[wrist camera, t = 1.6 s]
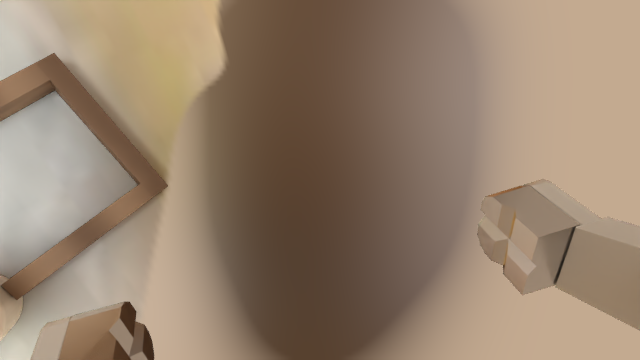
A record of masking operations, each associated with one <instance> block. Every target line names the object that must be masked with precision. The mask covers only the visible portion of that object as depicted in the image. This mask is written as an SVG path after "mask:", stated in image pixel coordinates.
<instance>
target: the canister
mask: <svg viewBox="0 0 640 360" xmlns="http://www.w3.org/2000/svg"><path fill="white" fill-rule="evenodd" d="M7 280H9V278H7V277H5V276H2V275H0V341H1V340H2V339H3V338H4V337H5V336H6V334H7V333H8V332H9V331H10V330H11V328H12V327H13V326H14V325H15V323H16V322H17V321H18V319H19V317H20V315H21V312H22V309H23V297H21V298H19V299H18V300H16V299H15V298H14V297H13V296H12V295H11V294H10V293H8V292H7V291H6V290H5V289H4V288H3V287H2V286H1V285H2V284H3V283H4V282H6V281H7Z"/></svg>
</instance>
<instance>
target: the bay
mask: <svg viewBox="0 0 640 360" xmlns="http://www.w3.org/2000/svg"><path fill="white" fill-rule="evenodd" d="M55 90H56V92H57V93H58V94H59V95H60V96H61V97H62V98H63V100H64V101H65V102H66V103H67V104H68V105H69V106H70V108H71V109H72V110H73V111H74V112H75V113H76V114H77V116H78V117H79V118H80V119H81V120H82V121H83V122H84V123H85V125H86V126H87V127H88V128H89V129H90V130H91V131H92V133H93V134H94V135H95V136H96V137H97V138H98V139H99V141H100V142H101V143H102V144H103V145H104V146H105V147H106V149H107V150H108V151H109V152H110V153H111V154H112V155H113V156H114V158H115V159H116V160H117V161H118V162H119V163H120V164H121V166H122V167H123V168H124V169H125V170H126V171H127V172H128V174H129V175H130V176H131V177H132V178H133V179H134V180H135V182H136V183H137V184H138V185H137V186H136V187H135V188H133V189H132V190H131V191H129V192H128V193H126V194H125V195H124V196H122V197H121V198H120V199H118V200H117V201H115V202H114V203H113V204H111V205H110V206H109V207H107V208H106V209H105V210H103V211H102V212H100V213H99V214H98V215H96V216H95V217H94V218H92V219H91V220H89V221H88V222H87V223H85V224H84V225H83V226H81V227H80V228H78V229H77V230H76V231H74V232H73V233H72V234H70V235H69V236H67V237H66V238H65V239H63V240H62V241H61V242H59V243H58V244H57V245H55V246H54V247H52V248H51V249H50V250H48V251H47V252H46V253H44V254H43V255H41V256H40V257H39V258H37V259H36V260H35V261H33V262H32V263H30V264H29V265H28V266H26V267H25V268H24V269H22V270H21V271H19V272H18V273H17V274H15V275H14V276H13V277H11V278H10V279H9V280H7V281H6V282H4V283H3V284H2V285H1V286H2V287H3V288H4V289H5V290H6V291H7V292H8V293H10V294H11V295H12V296H13V297H14V298H15V299H16V300H18V299H19V298H21V297H22V296H23V295H25V294H26V293H27V292H29V291H30V290H31V289H33V288H34V287H35V286H37V285H38V284H39V283H40V282H42V281H43V280H44V279H46V278H47V277H48V276H50V275H51V274H52V273H54V272H55V271H56V270H58V269H59V268H60V267H62V266H63V265H64V264H66V263H67V262H68V261H70V260H71V259H72V258H74V257H75V256H76V255H77V254H79V253H80V252H81V251H83V250H84V249H85V248H87V247H88V246H89V245H91V244H92V243H93V242H95V241H96V240H97V239H99V238H100V237H101V236H103V235H104V234H105V233H107V232H108V231H109V230H111V229H112V228H113V227H115V226H116V225H117V224H118V223H120V222H121V221H122V220H124V219H125V218H126V217H128V216H129V215H130V214H132V213H133V212H134V211H136V210H137V209H138V208H140V207H141V206H142V205H144V204H145V203H146V202H148V201H149V200H150V199H152V198H153V197H154V196H155V195H157V194H158V193H159V192H161V191H162V190H163V189H165V188H166V187H167V186H168V185H167V184H166V183H165V182H164V181H163V179H162V178H161V177H160V176H159V175H158V174H157V172H156V171H155V170H154V169H153V168H152V167H151V165H150V164H149V163H148V162H147V161H146V160H145V158H144V157H143V156H142V155H141V154H140V153H139V151H138V150H137V149H136V148H135V147H134V146H133V144H132V143H131V142H130V141H129V140H128V139H127V137H126V136H125V135H124V134H123V133H122V132H121V130H120V129H119V128H118V127H117V126H116V125H115V123H114V122H113V121H112V120H111V119H110V118H109V116H108V115H107V114H106V113H105V112H104V111H103V109H102V108H101V107H100V106H99V105H98V103H97V102H96V101H95V100H94V99H93V98H92V96H91V95H90V94H89V93H88V92H87V91H86V89H85V88H84V87H83V86H82V85H81V84H80V82H79V81H78V80H77V79H76V78H75V77H74V75H73V74H72V73H71V72H70V71H69V70H68V68H67V67H66V66H65V65H64V64H63V63H62V61H61V60H60V59H59V58H58V57H57V56H56V54H55V53H53V54H51V55H49V56H47V57H46V58H44V59H42V60H40V61H38V62H36V63H34V64H32V65H30V66H28V67H27V68H25V69H23V70H21V71H19V72H17V73H15V74H13V75H11V76H9V77H8V78H6V79H4V80H2V81H0V121H2V120H3V119H5V118H7V117H9V116H11V115H12V114H14V113H16V112H18V111H19V110H21V109H23V108H25V107H26V106H28V105H30V104H32V103H34V102H35V101H37V100H39V99H41V98H42V97H44V96H46V95H48V94H49V93H51V92H53V91H55Z"/></svg>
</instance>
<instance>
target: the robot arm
mask: <svg viewBox="0 0 640 360" xmlns="http://www.w3.org/2000/svg"><path fill="white" fill-rule="evenodd" d="M481 211H482V212H483V213H484V214H485V216H484V217H483V219H482V220H481V221H480V222H479V224H478V233H477V235H478V238H479V242H480V246H481V247H482V249H483V251H484V253H485V254H486V255H487V256H488V257H489V259H490V260H491V261H494V262H496V263H498V264H501V265H503V274H504V275H505V277H506V278H507V279H508V280H509V281H510V282H511V283H512V284H513V285H514V286H515V288H516V289H517V290H518V291H519V292H520V293H521V294H522V295H525V294H528V293H531V292H534V291H538V290H541V289H544V288H548V287H551V286H554V285H556V288H558V289H560V290H562V291H564V292H566V293H568V294H570V295H572V296H574V297H576V298H578V299H579V300H581V301H584V302H585V303H587V304H589V305H591V306H593V307H595V308H597V309H599V310H601V311H603V312H605V313H607V314H609V315H611V316H612V317H614V318H617V319H618V320H620V321H622V322H624V323H626V324H628V325H630V326H632V327H634V328H636V329H638V330H640V226H637V225H634V224H631V223H627V222H624V221H620V220H617V219H613V218H610V217H606V218H600V217H599V216H598V215H596V214H595V213H593V212H592V211H590V210H589V209H588V208H587V207H585V206H584V205H582V204H581V203H580V202H578V201H577V200H575V199H574V198H573V197H571V196H570V195H569V194H567V193H566V192H564V191H563V190H561V189H560V188H559V187H557V186H556V185H555V184H553V183H552V182H550V181H548V180H545V179H541V180H538V181H535V182H531V183H528V184H524V185H523V186H518V187H515V188H511V189H508V190H505V191H501V192H498V193H495V194H491V195H488V196H485V198H484V199H483V201H482V204H481ZM135 320H136V310H135V309H134V307H133V306H132V305H131V303H130V302H121V303H118V304H114V305H110V306H106V307H103V308H99V309H95V310H91V311H88V312H84V313H80V314H76V315H74V316H71V317H67V318H63V319H59V320H56V321H52V322H48V323H47V324H46V325H45V326H44V327H43V328H42V329H41V331H40V334H39V337H38V340H37V343H36V345H35V348H34V351H33V354H32V357H31V360H154V350H153V344H152V339H151V336H150V334H149V331H148V330H147V328H146V326H145V325H144V324H141V323H138V322H136V321H135Z"/></svg>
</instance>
